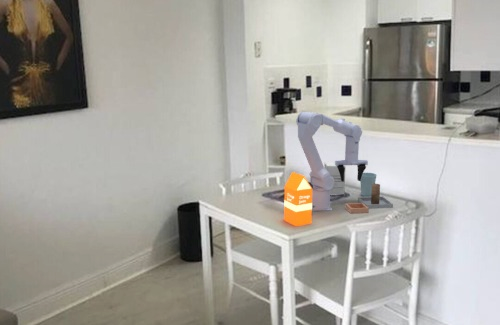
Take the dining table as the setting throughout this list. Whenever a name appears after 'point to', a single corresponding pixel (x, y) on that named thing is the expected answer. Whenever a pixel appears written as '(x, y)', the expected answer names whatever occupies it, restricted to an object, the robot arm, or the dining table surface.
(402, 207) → the dining table surface
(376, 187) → the peg
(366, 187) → the cup
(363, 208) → the orange square open box
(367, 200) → the tray
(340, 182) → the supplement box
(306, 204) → the orange juice
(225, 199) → the dining table surface
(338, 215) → the dining table surface
